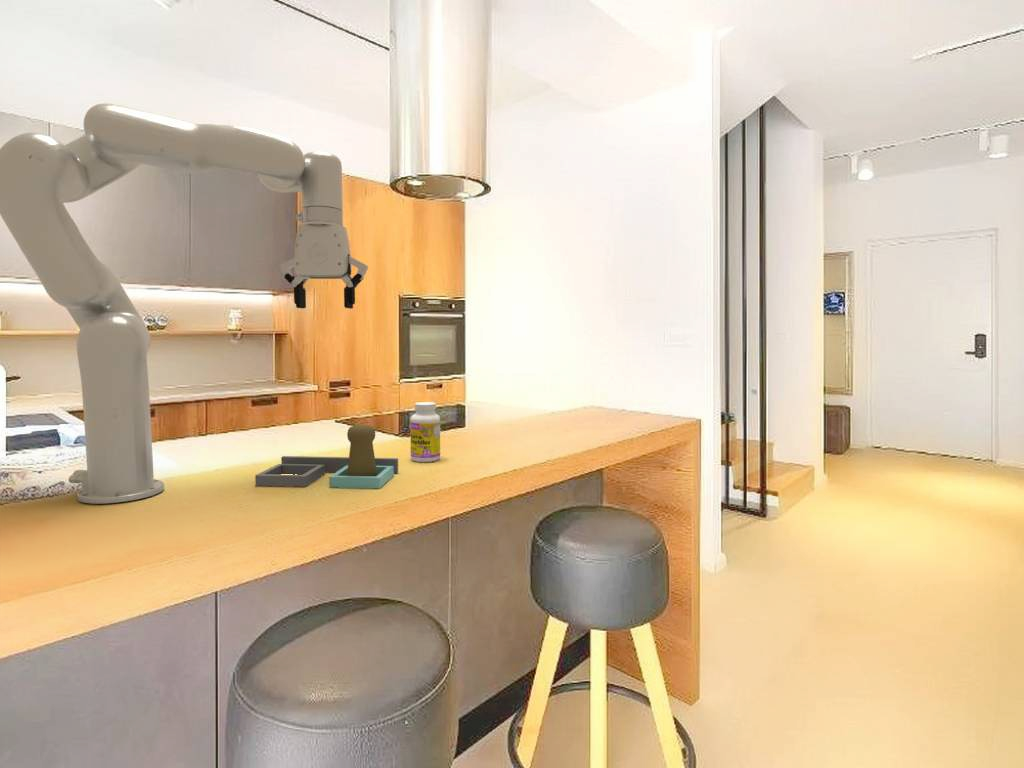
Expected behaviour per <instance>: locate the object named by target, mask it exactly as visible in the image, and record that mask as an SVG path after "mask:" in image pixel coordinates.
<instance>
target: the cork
mask: <svg viewBox="0 0 1024 768" xmlns="http://www.w3.org/2000/svg"><path fill="white" fill-rule="evenodd" d="M346 435H347V440H348V441H349V442H350V444H349V445H350V446H349V455H348V457H349V462H348V470H347V476H377V469H376V463H375V458H376V456H375V451H374V444H373V442H374V441H375V439H376V430H375V428H374V427H373V425H370V424H365V423H364V424H355V425H352V426H349V427H348V429H347V434H346Z"/></svg>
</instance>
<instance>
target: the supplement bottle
mask: <svg viewBox="0 0 1024 768" xmlns="http://www.w3.org/2000/svg"><path fill="white" fill-rule="evenodd" d="M436 409H437V404H436V402H432V401H420V402H419V401H418V402H415V403H414V410H415V413H414V414H413V415H411V417H410V419H409V421H410V428H409V429H410V460H412V461H413V462H418V463H432V461H433V462H437V461H438V460H439V459H440V458H441V417H440V415H439V414H437V413H436Z"/></svg>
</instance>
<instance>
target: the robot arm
mask: <svg viewBox="0 0 1024 768" xmlns="http://www.w3.org/2000/svg"><path fill="white" fill-rule="evenodd" d="M83 132H84V134H83V135H82V136H80V137H78V138H76V139H74V140H72V141H70V142H68V143H66V144H64V143H63V142H61V141H60V140H58V139H57V138H55V137H53V136H50V135H47V134H45V133H39V132H25V133H20V134H17V135H15V136H13V137H12V138H10V139H9V140H8V141H6V142H5V143H4V144H3V145H1V147H0V216H1V218H2V220H3V223H5V225H6V227H7V228H8V230H9V232H10V233H11V236H12V237H13V238H14V240H15V241H16V243H17V245H18V247H19V248H20V251H21V252H22V254H23V256H24V257H25V258H26V260H27V262H28V263H29V265H30V267H31V268H32V269H33V271H34V272H35V274H36V276H37V278H38V280H39V281H40V283H41V284H42V286H43V289H44V290H45V292H46V293H47V295H48V296H49V297H50V298H51V300H53V302H55V303H57V304H58V305H60V306H61V307H64V308H66V310H67V312H68V313H69V314H70V316H71V318H72V320H73V321H74V322H75V324H76V325H77V328H79V332H77V333H78V334H77V338H76V354H77V361H78V366H79V367H78V368H79V374H80V384H81V394H82V407H83V408H82V409H83V422H84V438H85V439H84V440H85V457H86V469H75V470H74V471H73V473H72V475H70V476H69V477H68V482H69V483H70V484H81V489H80V490H79V491H78V492H77V493H76V494H77V495H76V496H77V497H76V498H77V500H78V501H79V502H81V503H85V504H92V505H93V504H94V505H95V504H96V505H98V504H99V505H100V504H101V505H102V504H115V503H124V502H132V501H137V500H141V499H142V500H143V499H145V498H149V497H152V496H155V495H159V494H160V493H161V492H162V491H164V490H165V483H164V481H162V480H160V479H155V478H154V459H153V458H154V456H153V439H152V436H153V435H152V419H151V404H150V403H151V402H150V399H151V398H150V385H149V371H148V359H147V358H148V356H147V355H148V352H149V350H150V348H151V343H152V340H151V339H152V338H151V334H150V331H149V329H148V327H147V325H146V324H145V322H144V321H143V319H142V317H141V315H140V314H139V312H138V311H137V309H136V307H135V305H134V304H133V302H132V300H131V299H130V297H129V295H128V294H127V292H126V290H125V288H124V287H123V286H122V284H121V281H119V279H118V278H117V276H116V275H115V273H114V272H113V270H112V269H110V268H109V267H108V266H107V265H106V264H104V263H103V262H102V261H100V260H99V258H98V257H97V256H96V254H94V252H93V251H92V249H91V248H90V246H89V245H88V243H87V242H86V240H85V238H84V236H83V235H82V233H81V232H80V229H79V228H78V225H77V224H76V223H75V220H74V219H73V218H72V217H71V215H70V213H69V212H68V210H67V208H66V206H65V204H68V203H74V202H77V201H80V200H83V199H85V198H86V197H88V196H90V195H93V194H95V193H96V192H99V191H100V190H101V189H103V188H105V187H107V186H109V185H111V184H113V183H114V182H116V181H118V180H120V179H121V178H123V177H125V176H126V175H129V174H130V173H131V172H133V171H135V170H136V169H137V168H138V167H140V166H142V165H148V166H152V167H158V168H160V169H161V168H163V169H168V170H171V171H175V172H180V173H186V174H191V175H199V174H200V175H201V174H205V173H206V174H207V173H209V172H213V171H220V170H224V171H226V170H230V171H239V172H245V173H250V174H255V175H257V177H258V179H259V181H260V183H261V185H263V186H264V187H265V188H266V189H268V190H270V191H272V192H275V193H301V208H302V209H301V210H300V212H301V213H296V214H295V221H296V222H301V224H300V225H299V224H298V225H297V231H296V236H295V242H294V243H295V244H294V245H295V246H294V255H293V256H294V257H292V258H290V259H288V260H287V261H285V262H284V263H281V264H280V265H279V269H280V271H281V272H282V274H283V276H284V280H286V281H287V282H288V283H289V284H290V285H291V287H292V288H293V301H294V304H295V307H296V309H306V307H307V301H306V300H307V296H306V295H307V293H306V288H305V287H304V286H305V285H306V283H307V282H308V281H309V279H311V280H312V279H313V280H314V279H317V280H330V279H331V280H334V279H335V280H336V279H337V280H340V279H341V280H342V282H343V283H344V284H345V286H344V287H343V305H344V308H345V309H351V310H352V309H353V308H354V305H355V304H356V288H357V287H358V285H359V284H360V283H361V282H362V281H363V280H364V277H365V275H366V274H367V271H368V269H369V266H368V265H367V264H365V263H363V262H362V261H360V260H357V259H356V258H354V257H352V254H351V248H350V247H351V246H350V240H349V236H348V235H349V233H348V230H347V228H346V227H345V226H344V217H343V215H344V212H343V211H344V210H343V204H344V203H343V167H342V161H341V159H340V158H339V157H338V156H337V155H335V154H332V153H330V152H327V151H326V152H325V151H309V152H306V153H305V154H304V153H303V151H302V149H301V148H300V147H299V145H297V143H295V142H293V140H290V139H289V138H286V137H284V136H281V135H278V134H274V133H270V132H266V131H263V130H258V129H254V128H251V127H245V126H237V125H230V124H227V125H226V124H213V123H195V122H189V121H185V120H183V119H182V120H181V119H178V118H173V117H170V116H169V117H168V116H164V115H161V114H157V113H153V112H148V111H144V110H140V109H136V108H132V107H127V106H122V105H119V104H113V103H98V104H95V105H93V106H91V107H90V108H89V109H88V110H87V111H86V113H85V115H84V118H83ZM64 203H65V204H64ZM352 266H354V267H355V268H357V272H356V274H355V275H354V276H353V277H352ZM292 268H294V269H293V270H294V273H295V274H296V276H294V274H293V273H292V271H291V269H292Z"/></svg>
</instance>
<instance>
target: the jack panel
mask: <svg viewBox="0 0 1024 768" xmlns="http://www.w3.org/2000/svg"><path fill="white" fill-rule="evenodd" d="M280 458H281V461H280V462H281V463H277V464H276V465H273V466H272V467H269V468H267V469H265V470H262V471H261V472H259V473H256V474H255V476H254V479H255V482H254V483H255V487H281V486H300V487H299V488H306V487H308V486H309V485H311V484H312V482H313V483H314V482H316V481H317V480H319V479H320V478H322V477H323V476H325V475H326V473H332V474H331V475H330V476H329V477H328V484H329V486H328V487H338V488H337V489H339V488H340V489H341V488H342V489H373V488H379V489H381V488H383V487H384V486H385V485H386V484H387V483H388V482H389V481H390V480H391V479H392V478H393V477H394V476H395V474H394V473H397V474H399V458H398V457H375V463H376V469H377V476H347V470H348V462H349V456H348V457H346V456H302V455H301V456H299V455H297V456H296V455H295V456H293V455H282V456H281V457H280ZM334 472H336V473H334ZM281 474H293V475H281ZM295 474H297V475H295ZM324 474H325V475H324ZM322 475H323V476H322ZM321 476H322V477H321ZM318 478H319V479H318ZM389 479H390V480H389ZM315 480H316V481H315ZM388 480H389V481H388ZM387 481H388V482H387ZM386 482H387V483H386ZM385 483H386V484H385ZM384 484H385V485H384ZM307 485H308V486H307Z"/></svg>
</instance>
